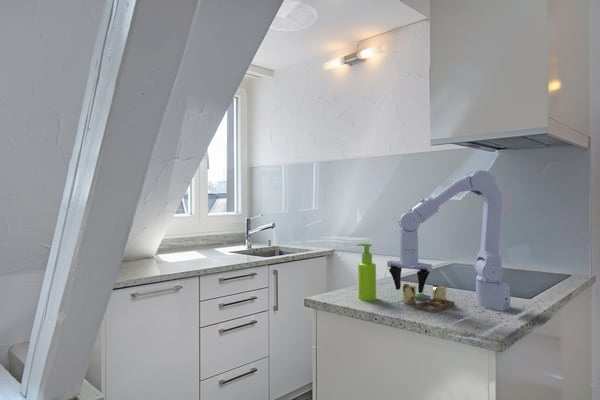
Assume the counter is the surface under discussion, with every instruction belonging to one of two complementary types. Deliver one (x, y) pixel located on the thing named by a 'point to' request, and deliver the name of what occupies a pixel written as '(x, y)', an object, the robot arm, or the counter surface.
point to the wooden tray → (433, 305)
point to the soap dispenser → (367, 275)
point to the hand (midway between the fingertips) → (409, 290)
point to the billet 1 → (409, 294)
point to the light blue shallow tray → (405, 305)
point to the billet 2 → (439, 294)
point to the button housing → (423, 298)
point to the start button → (419, 294)
